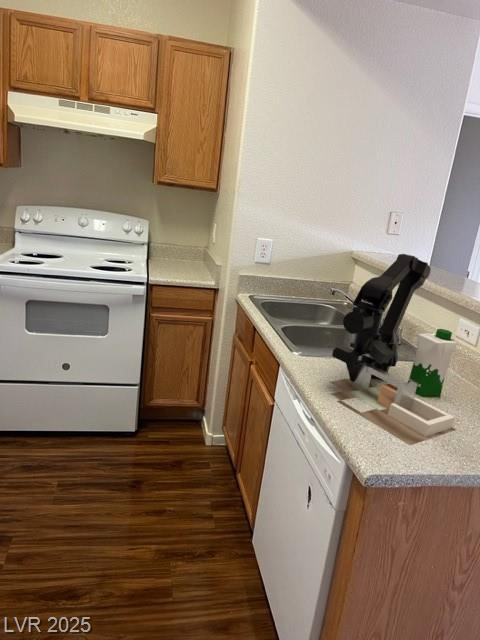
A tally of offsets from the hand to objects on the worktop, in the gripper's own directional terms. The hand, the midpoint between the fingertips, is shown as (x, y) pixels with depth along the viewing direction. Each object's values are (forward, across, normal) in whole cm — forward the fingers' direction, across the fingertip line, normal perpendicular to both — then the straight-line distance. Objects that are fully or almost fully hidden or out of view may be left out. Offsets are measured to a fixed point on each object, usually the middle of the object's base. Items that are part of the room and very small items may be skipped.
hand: (356, 380), depth 135 cm
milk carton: (+4, +19, -10) cm, 21 cm away
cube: (+2, 0, -12) cm, 13 cm away
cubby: (+2, 0, -21) cm, 21 cm away
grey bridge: (+2, 0, -8) cm, 9 cm away
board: (+3, -4, -12) cm, 13 cm away
